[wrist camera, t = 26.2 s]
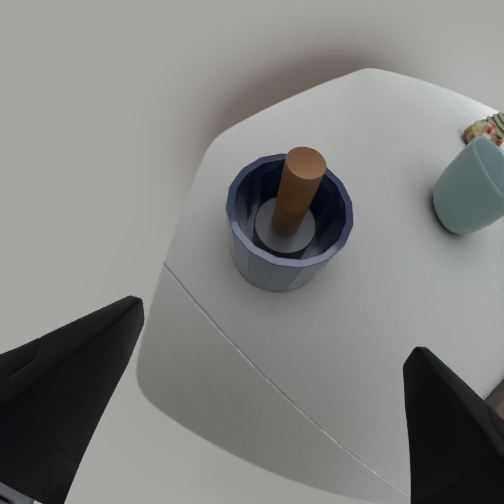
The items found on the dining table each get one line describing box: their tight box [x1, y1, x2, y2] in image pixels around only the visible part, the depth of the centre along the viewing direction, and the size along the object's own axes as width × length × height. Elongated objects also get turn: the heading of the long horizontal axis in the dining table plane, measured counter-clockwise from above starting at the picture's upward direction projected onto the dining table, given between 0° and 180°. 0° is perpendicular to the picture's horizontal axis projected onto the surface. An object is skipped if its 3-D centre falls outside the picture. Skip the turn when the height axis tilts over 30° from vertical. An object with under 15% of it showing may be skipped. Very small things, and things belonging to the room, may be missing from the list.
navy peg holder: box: [226, 154, 353, 292], centre depth 20 cm, size 8×8×8 cm
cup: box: [433, 136, 504, 234], centre depth 21 cm, size 8×8×10 cm
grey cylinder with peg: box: [252, 147, 326, 260], centre depth 17 cm, size 4×4×11 cm
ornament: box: [464, 112, 504, 147], centre depth 26 cm, size 8×6×10 cm
